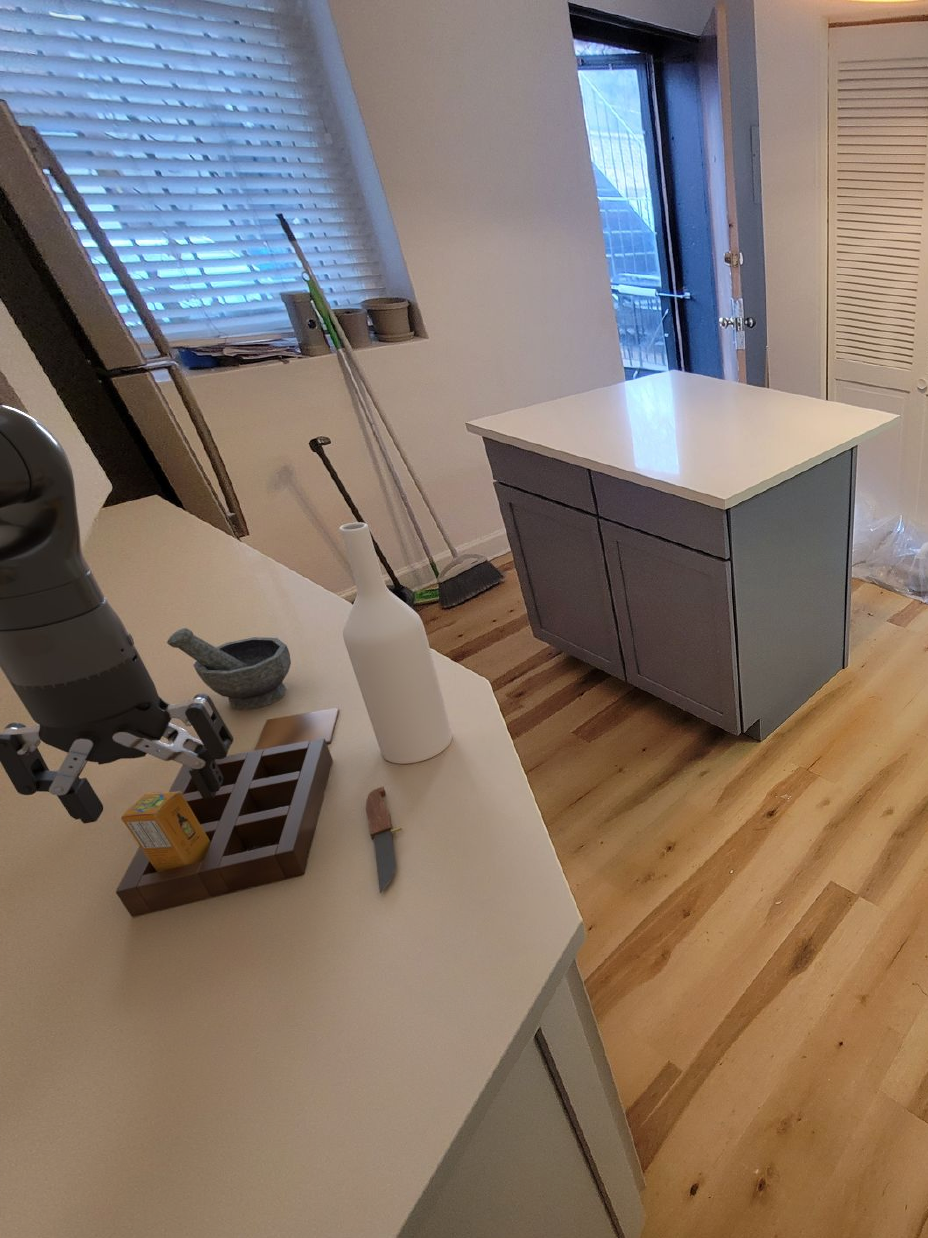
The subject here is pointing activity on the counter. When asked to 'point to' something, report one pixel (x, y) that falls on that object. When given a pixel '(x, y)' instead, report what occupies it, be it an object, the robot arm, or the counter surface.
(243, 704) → the mortar and pestle
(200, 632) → the counter surface
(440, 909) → the counter surface
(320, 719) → the coaster
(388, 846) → the knife
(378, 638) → the bottle
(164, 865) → the supplement box
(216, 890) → the rack
